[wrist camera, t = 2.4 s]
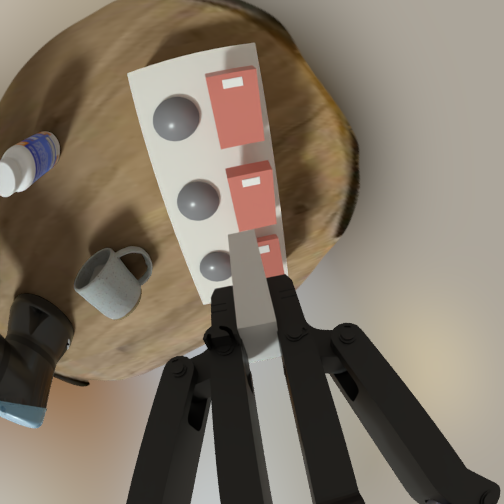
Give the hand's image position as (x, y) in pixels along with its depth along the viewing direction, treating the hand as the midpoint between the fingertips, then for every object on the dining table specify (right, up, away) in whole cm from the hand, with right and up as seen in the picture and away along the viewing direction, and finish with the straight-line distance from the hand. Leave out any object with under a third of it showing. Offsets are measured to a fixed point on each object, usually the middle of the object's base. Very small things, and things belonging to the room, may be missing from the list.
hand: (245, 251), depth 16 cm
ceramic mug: (-19, -2, +21) cm, 28 cm away
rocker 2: (0, +5, +10) cm, 12 cm away
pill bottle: (-26, +13, +9) cm, 30 cm away
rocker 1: (-1, +12, +5) cm, 13 cm away
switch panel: (-3, +7, +17) cm, 19 cm away
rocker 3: (+2, -2, +16) cm, 16 cm away
